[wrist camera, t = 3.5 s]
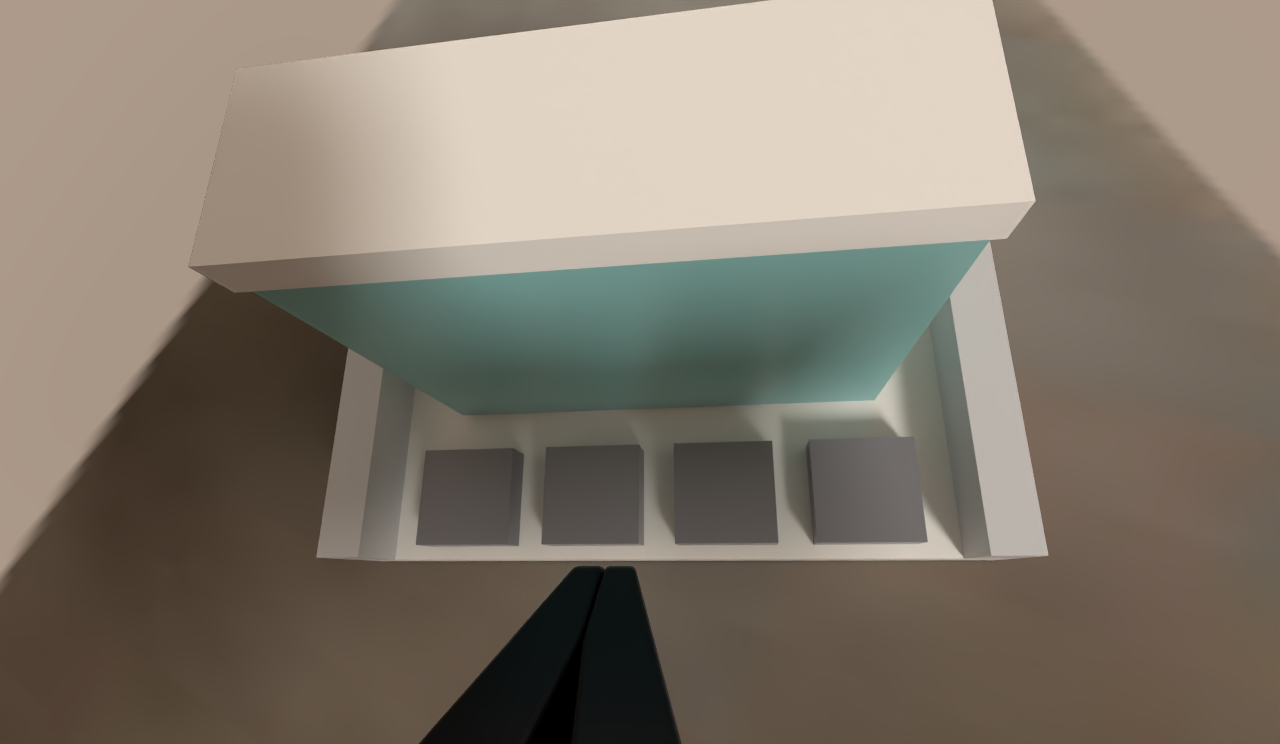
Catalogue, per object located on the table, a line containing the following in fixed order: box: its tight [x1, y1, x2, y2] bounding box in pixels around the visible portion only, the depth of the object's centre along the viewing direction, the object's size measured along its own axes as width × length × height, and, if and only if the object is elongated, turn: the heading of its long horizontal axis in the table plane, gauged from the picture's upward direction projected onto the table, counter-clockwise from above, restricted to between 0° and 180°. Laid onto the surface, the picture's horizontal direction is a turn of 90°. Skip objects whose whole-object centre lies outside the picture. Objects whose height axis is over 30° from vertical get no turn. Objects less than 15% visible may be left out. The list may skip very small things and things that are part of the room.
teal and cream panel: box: [189, 0, 1035, 415], centre depth 12 cm, size 3×10×8 cm, turn 90°
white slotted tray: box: [316, 241, 1048, 561], centre depth 16 cm, size 11×15×3 cm
